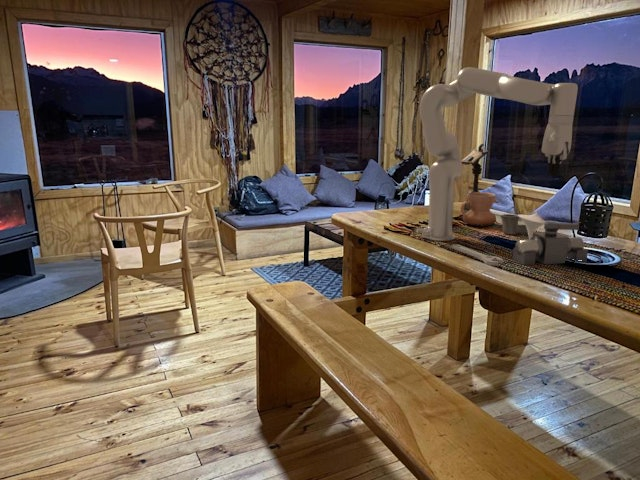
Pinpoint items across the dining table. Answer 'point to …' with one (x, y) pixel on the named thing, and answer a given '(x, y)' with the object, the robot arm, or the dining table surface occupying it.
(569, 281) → the dining table surface
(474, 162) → the bird statue
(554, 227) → the lever
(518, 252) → the valve body
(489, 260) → the adjustable wrench
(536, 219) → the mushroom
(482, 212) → the ceramic jug
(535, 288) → the dining table surface
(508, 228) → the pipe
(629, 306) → the dining table surface
